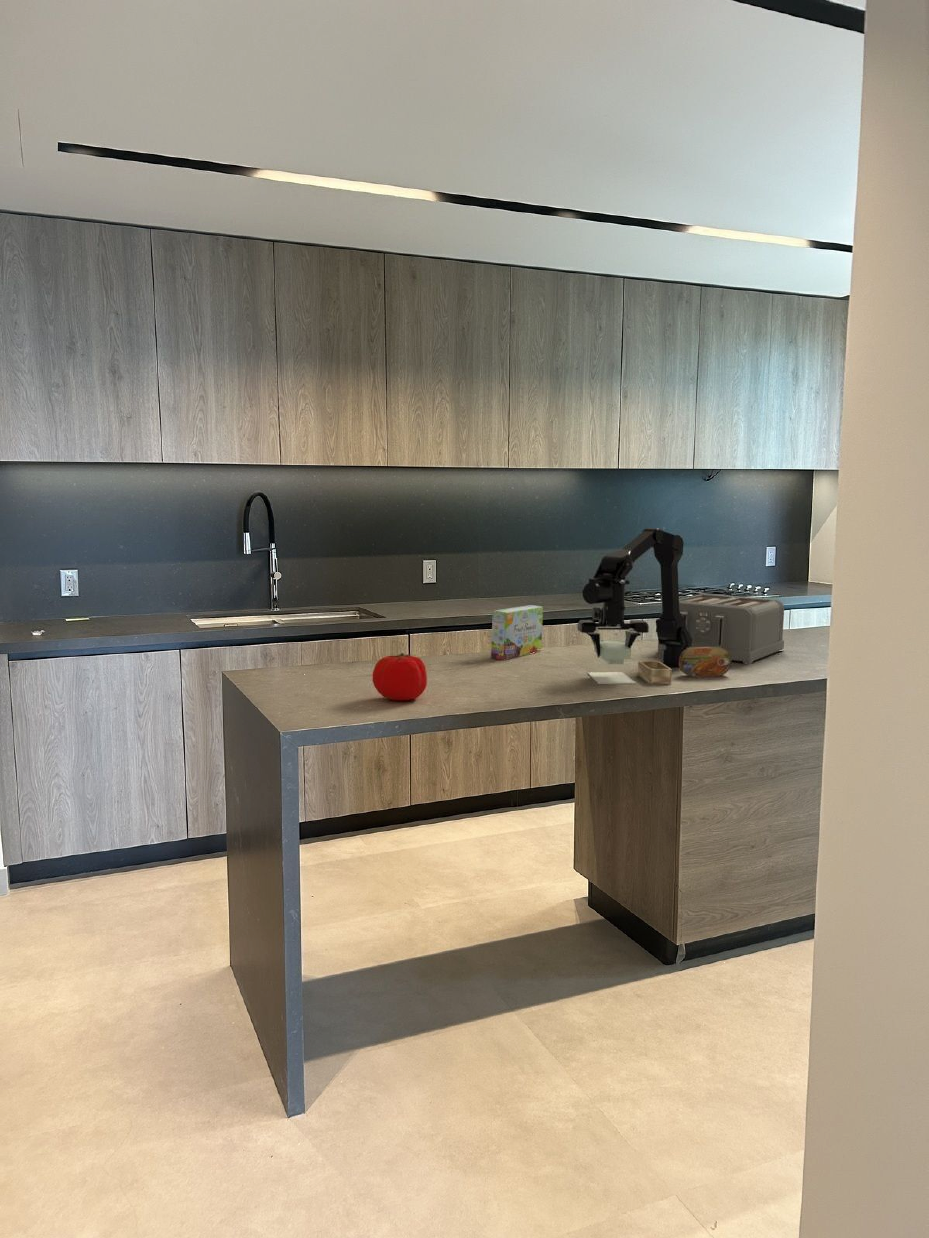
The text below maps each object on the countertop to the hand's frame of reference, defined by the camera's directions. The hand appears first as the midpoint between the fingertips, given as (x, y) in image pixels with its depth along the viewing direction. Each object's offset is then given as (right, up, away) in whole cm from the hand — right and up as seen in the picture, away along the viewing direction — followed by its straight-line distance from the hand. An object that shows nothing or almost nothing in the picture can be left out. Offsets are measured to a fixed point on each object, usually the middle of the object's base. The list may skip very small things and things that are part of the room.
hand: (611, 657), depth 256 cm
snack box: (-24, -1, +36) cm, 43 cm away
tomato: (-57, -10, -28) cm, 64 cm away
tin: (+27, -6, +7) cm, 29 cm away
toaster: (+42, -1, +46) cm, 62 cm away
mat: (0, -6, +1) cm, 6 cm away
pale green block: (0, -1, 0) cm, 1 cm away
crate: (+12, -6, +1) cm, 13 cm away
